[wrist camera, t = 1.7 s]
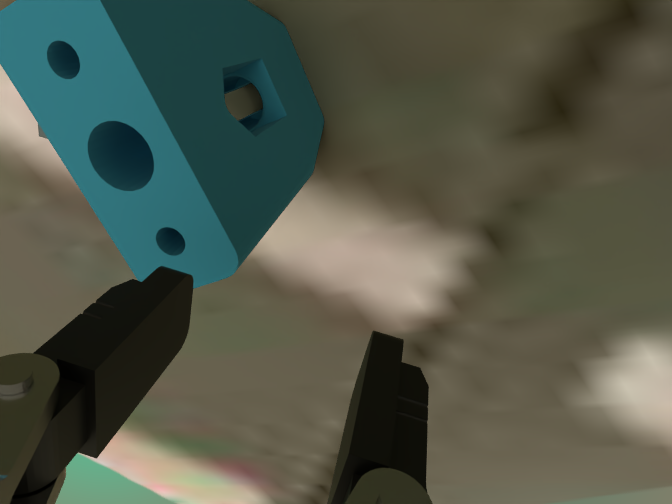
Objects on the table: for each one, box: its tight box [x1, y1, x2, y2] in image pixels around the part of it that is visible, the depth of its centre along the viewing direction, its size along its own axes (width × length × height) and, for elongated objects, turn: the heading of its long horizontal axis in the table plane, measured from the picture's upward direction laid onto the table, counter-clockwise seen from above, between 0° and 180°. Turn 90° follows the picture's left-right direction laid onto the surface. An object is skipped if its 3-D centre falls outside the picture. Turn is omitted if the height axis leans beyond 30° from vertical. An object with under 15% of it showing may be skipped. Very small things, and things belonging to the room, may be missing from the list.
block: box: [0, 0, 324, 289], centre depth 27 cm, size 12×5×20 cm, turn 24°
